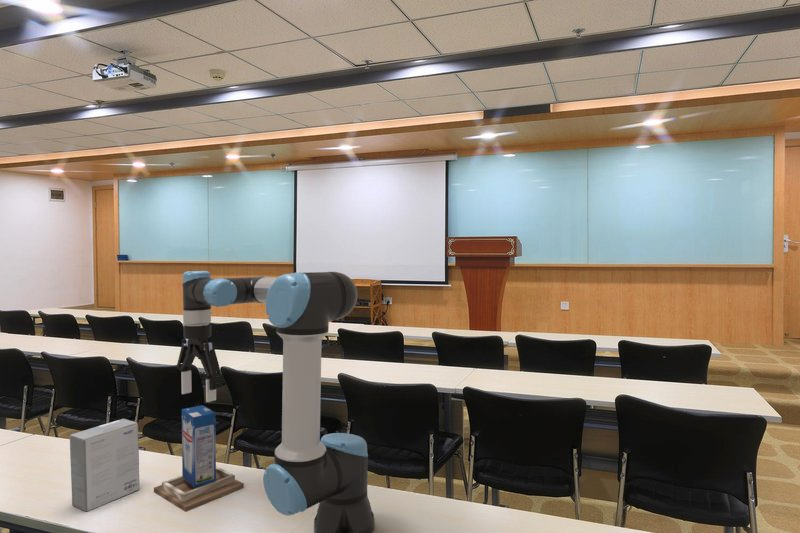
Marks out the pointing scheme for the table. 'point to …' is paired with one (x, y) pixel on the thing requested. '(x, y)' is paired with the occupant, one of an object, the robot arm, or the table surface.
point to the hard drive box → (104, 463)
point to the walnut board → (197, 490)
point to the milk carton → (198, 445)
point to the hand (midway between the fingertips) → (198, 397)
